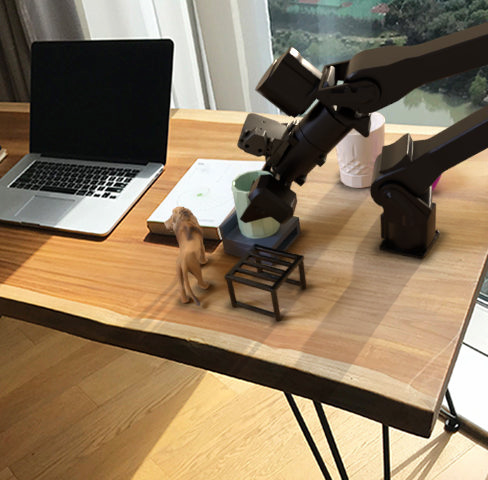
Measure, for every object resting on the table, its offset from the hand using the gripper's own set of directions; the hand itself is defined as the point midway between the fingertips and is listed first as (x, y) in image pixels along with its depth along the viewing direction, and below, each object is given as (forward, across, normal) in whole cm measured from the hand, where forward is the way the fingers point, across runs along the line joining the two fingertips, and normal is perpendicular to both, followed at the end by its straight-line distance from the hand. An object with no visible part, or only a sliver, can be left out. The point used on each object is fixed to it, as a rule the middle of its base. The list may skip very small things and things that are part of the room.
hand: (247, 207), depth 100 cm
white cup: (-6, -18, +15) cm, 24 cm away
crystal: (-12, -14, +22) cm, 29 cm away
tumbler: (+2, 0, +4) cm, 4 cm away
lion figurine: (+10, +8, -1) cm, 13 cm away
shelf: (+4, 0, +6) cm, 7 cm away
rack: (+1, +12, +8) cm, 15 cm away
